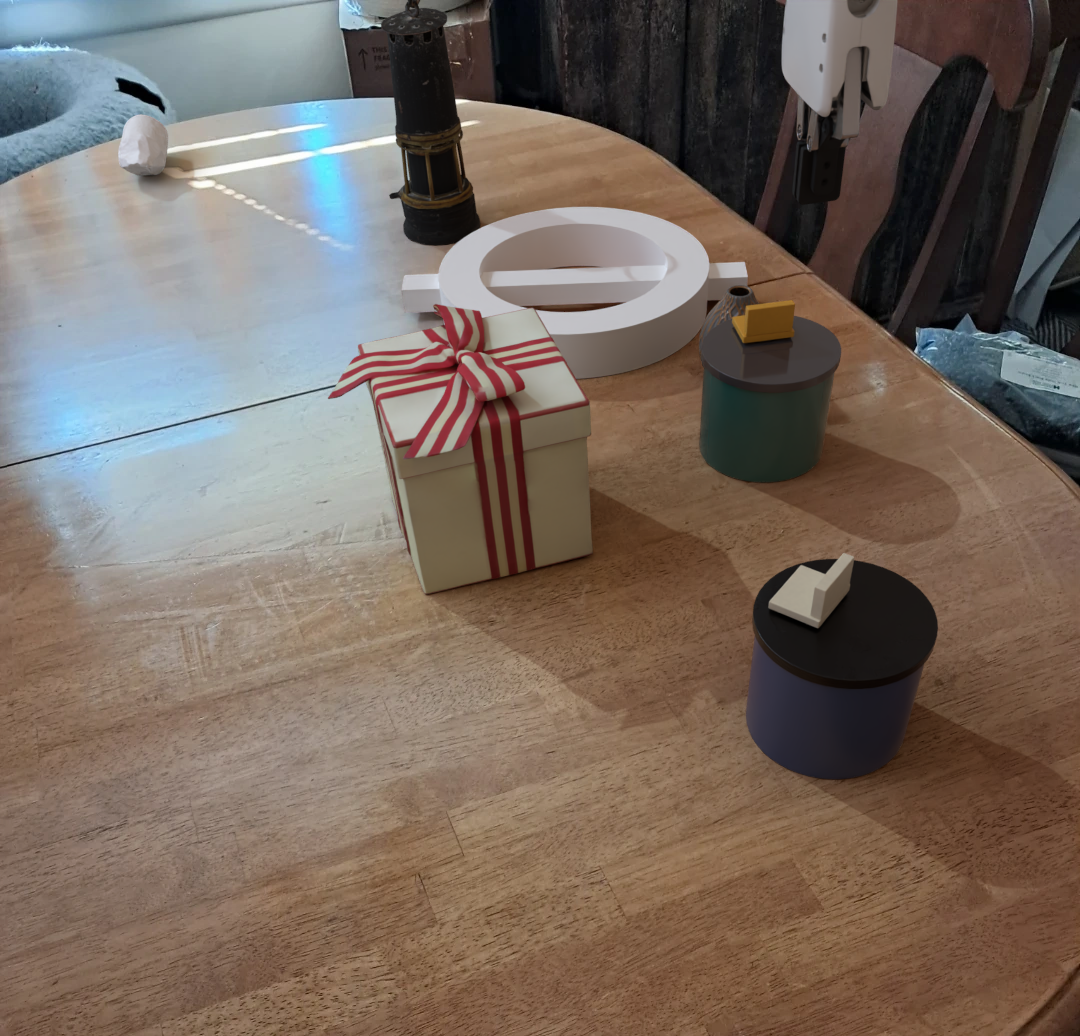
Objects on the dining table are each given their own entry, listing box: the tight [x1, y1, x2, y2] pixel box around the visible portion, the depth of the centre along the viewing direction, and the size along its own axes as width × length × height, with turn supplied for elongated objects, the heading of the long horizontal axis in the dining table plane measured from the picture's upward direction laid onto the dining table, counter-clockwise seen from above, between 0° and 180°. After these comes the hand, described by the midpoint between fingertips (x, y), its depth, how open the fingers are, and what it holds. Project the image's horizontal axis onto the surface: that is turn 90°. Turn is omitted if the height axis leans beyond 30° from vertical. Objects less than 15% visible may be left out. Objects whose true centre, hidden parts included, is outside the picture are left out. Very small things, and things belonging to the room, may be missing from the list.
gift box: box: [327, 304, 594, 595], centre depth 91 cm, size 17×18×17 cm
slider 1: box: [732, 299, 796, 343], centre depth 97 cm, size 4×4×3 cm
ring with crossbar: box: [401, 206, 749, 380], centre depth 121 cm, size 28×28×5 cm
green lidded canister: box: [698, 315, 842, 483], centre depth 100 cm, size 12×12×10 cm
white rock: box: [117, 114, 169, 176], centre depth 151 cm, size 6×12×6 cm, turn 10°
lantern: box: [380, 0, 481, 246], centre depth 127 cm, size 9×9×30 cm
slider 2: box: [768, 552, 855, 628], centre depth 74 cm, size 4×4×3 cm
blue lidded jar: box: [745, 558, 939, 780], centre depth 77 cm, size 12×12×10 cm
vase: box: [698, 285, 760, 369], centre depth 109 cm, size 7×7×9 cm
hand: (815, 197), depth 87 cm, fingers closed
